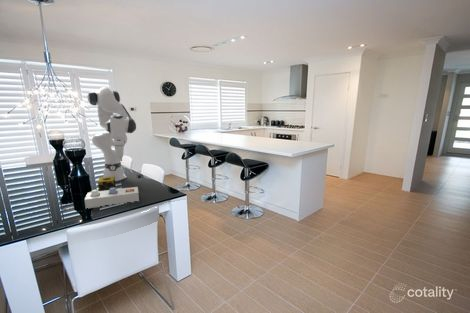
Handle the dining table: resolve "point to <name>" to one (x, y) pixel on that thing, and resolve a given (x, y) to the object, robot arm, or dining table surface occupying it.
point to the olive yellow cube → (106, 183)
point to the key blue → (112, 191)
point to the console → (111, 197)
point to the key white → (95, 193)
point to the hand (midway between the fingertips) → (120, 160)
